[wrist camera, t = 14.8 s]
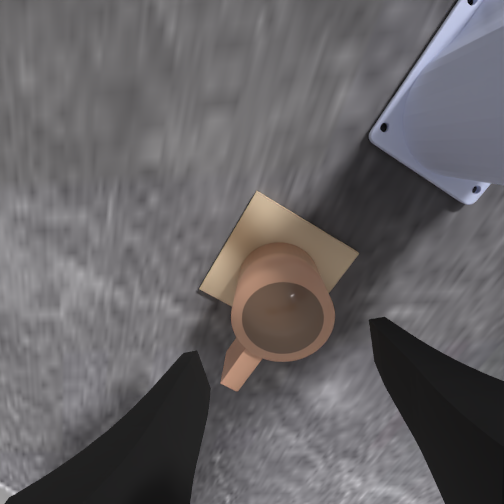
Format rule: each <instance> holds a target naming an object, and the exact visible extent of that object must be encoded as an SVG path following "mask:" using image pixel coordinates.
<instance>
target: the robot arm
mask: <svg viewBox="0 0 504 504" xmlns="http://www.w3.org/2000/svg"><path fill="white" fill-rule="evenodd" d="M382 123H385V124H386V125H387V129H386V131H385V132H382V131H381V130H380V126H381V124H382ZM369 140H370V142H371V143H372V144H374V145H375V146H377V147H378V148H380V149H381V150H383V151H384V152H386V153H387V154H389V155H390V156H392V157H393V158H395V159H396V160H398V161H399V162H401V163H402V164H404V165H405V166H407V167H408V168H410V169H411V170H413V171H414V172H416V173H417V174H419V175H420V176H422V177H423V178H425V179H426V180H428V181H429V182H431V183H432V184H434V185H435V186H437V187H438V188H440V189H441V190H443V191H444V192H446V193H447V194H449V195H450V196H452V197H453V198H455V199H456V200H458V201H459V202H461V203H463V204H466V205H471V204H473V203H474V202H476V201H477V199H478V198H479V197H480V196H481V195H482V194H483V192H484V191H485V190H486V189H487V188H488V187H489V185H490V184H491V183H492V184H498V185H504V0H473V4H472V6H471V5H469V4H468V3H467V0H458V2H457V3H456V5H455V6H454V8H453V9H452V11H451V12H450V14H449V15H448V16H447V18H446V19H445V21H444V22H443V24H442V25H441V27H440V28H439V30H438V31H437V33H436V34H435V36H434V37H433V39H432V40H431V42H430V43H429V45H428V46H427V48H426V49H425V51H424V52H423V54H422V55H421V57H420V58H419V60H418V61H417V63H416V64H415V66H414V67H413V68H412V70H411V71H410V73H409V74H408V76H407V77H406V79H405V80H404V82H403V83H402V85H401V86H400V88H399V89H398V91H397V92H396V94H395V95H394V97H393V98H392V100H391V101H390V103H389V104H388V106H387V107H386V109H385V110H384V112H383V113H382V115H381V116H380V118H379V119H378V120H377V122H376V123H375V125H374V126H373V128H372V129H371V131H370V133H369ZM475 186H476V187H477V190H476V191H475V192H474V193H473V192H472V189H473V187H475ZM369 324H370V332H371V339H372V347H373V354H374V362H375V364H376V366H377V369H378V371H379V374H380V376H381V378H382V381H383V383H384V385H385V387H386V389H387V391H388V392H389V394H390V396H391V398H392V400H393V401H394V403H395V405H396V407H397V408H398V410H399V412H400V414H401V415H402V417H403V419H404V421H405V422H406V424H407V426H408V428H409V429H410V431H411V433H412V435H413V436H414V438H415V440H416V442H417V444H418V446H419V448H420V450H421V452H422V454H423V456H424V458H425V460H426V462H427V465H428V467H429V469H430V471H431V473H432V475H433V478H434V480H435V482H436V484H437V487H438V489H439V491H440V493H441V496H442V498H443V500H444V502H445V504H504V381H502V380H499V379H497V378H494V377H492V376H489V375H487V374H485V373H482V372H480V371H478V370H476V369H474V368H471V367H469V366H467V365H465V364H463V363H461V362H459V361H457V360H455V359H453V358H451V357H449V356H447V355H445V354H443V353H441V352H440V351H438V350H436V349H434V348H433V347H431V346H429V345H427V344H426V343H424V342H422V341H421V340H419V339H418V338H416V337H414V336H413V335H411V334H410V333H408V332H407V331H405V330H404V329H402V328H401V327H399V326H398V325H396V324H395V323H393V322H392V321H390V320H389V319H387V318H386V317H381V318H375V319H370V320H369ZM210 389H211V388H210V385H209V383H208V380H207V377H206V374H205V371H204V368H203V366H202V363H201V360H200V357H199V354H198V352H197V351H192V352H187V353H183V354H182V355H181V356H180V357H179V358H178V359H177V361H176V362H175V363H174V364H173V365H172V366H171V367H170V369H169V370H168V371H167V372H166V373H165V374H164V375H163V376H162V378H161V379H160V380H159V381H158V382H157V383H156V384H155V385H154V387H153V388H152V389H151V390H150V391H149V392H148V393H147V394H146V395H145V396H144V397H143V398H142V399H141V400H140V401H139V402H138V403H137V404H136V405H135V406H134V407H133V408H132V409H131V410H130V411H129V412H128V413H127V414H126V415H125V416H124V417H123V418H122V419H120V420H119V421H118V422H117V423H116V424H115V425H114V426H113V427H111V428H110V429H109V430H108V431H107V432H105V433H104V434H103V435H102V436H100V437H99V438H98V439H96V440H95V441H94V442H93V443H91V444H90V445H89V446H88V447H86V448H85V449H84V450H82V451H81V452H80V453H78V454H77V455H75V456H74V457H73V458H71V459H70V460H68V461H67V462H66V463H64V464H63V465H61V466H60V467H58V468H57V469H55V470H54V471H52V472H51V473H49V474H48V475H46V476H44V477H43V478H41V479H39V480H38V481H36V482H35V483H33V484H31V485H30V486H28V487H26V488H25V489H23V490H21V491H20V492H18V493H16V494H15V495H13V496H11V497H9V498H8V500H7V501H6V503H5V504H190V499H191V491H192V484H193V478H194V473H195V468H196V464H197V459H198V455H199V451H200V446H201V442H202V438H203V433H204V429H205V425H206V420H207V415H208V409H209V400H210Z"/></svg>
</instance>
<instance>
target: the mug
mask: <svg viewBox="0 0 504 504" xmlns="http://www.w3.org/2000/svg"><path fill="white" fill-rule="evenodd" d="M334 322H335V310H334V306H333V302H332V300H331V298H330V296H329V293H328V291H327V289H326V287H325V284H324V282H323V280H322V277H321V275H320V273H319V271H318V268H317V266H316V264H315V262H314V260H313V259H312V258H311V256H310V255H309V254H308V253H307V252H306V251H304V250H303V249H301V248H300V247H298V246H295V245H293V244H289V243H283V242H275V243H269V244H265V245H263V246H260V247H258V248H257V249H255V250H254V251H252V252H251V253H250V254H249V255H248V256H247V257H246V259H245V260H244V262H243V263H242V265H241V268H240V271H239V276H238V281H237V286H236V291H235V296H234V301H233V306H232V311H231V323H232V328H233V331H234V333H235V335H236V339H235V340H234V341H233V343H232V344H231V346H230V347H229V349H228V350H227V351H226V356H225V361H224V367H223V372H222V377H221V384H223V385H225V386H227V387H229V388H231V389H233V390H235V391H237V392H238V390H239V389H240V388H241V386H242V385H243V384H244V382H245V381H246V380H247V378H248V377H249V376H250V374H251V373H252V372H253V370H254V369H255V368H256V366H257V365H258V364H259V362H260V361H261V360H262V358H263V359H266V360H270V361H277V362H288V361H295V360H299V359H302V358H305V357H307V356H309V355H311V354H313V353H314V352H316V351H317V350H318V349H319V348H321V347H322V346H323V344H324V343H325V342H326V341H327V339H328V338H329V336H330V334H331V333H332V330H333V327H334Z"/></svg>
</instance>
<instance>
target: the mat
mask: <svg viewBox="0 0 504 504" xmlns="http://www.w3.org/2000/svg"><path fill="white" fill-rule="evenodd" d="M275 242H283V243H289V244H293V245H295V246H298V247H300V248H301V249H303V250H304V251H306V252H307V253H308V254H309V255H310V256H311V258H312V259H313V260H314V262H315V264H316V266H317V268H318V271H319V273H320V275H321V277H322V280H323V282H324V284H325V287H326V289H327V291H328V293H330V291H331V290H332V289H333V287H334V286H335V285H336V283H337V282H338V281H339V279H340V278H341V277H342V276H343V274H344V273H345V272H346V270H347V269H348V268H349V266H350V265H351V264H352V262H353V261H354V260H355V258H356V257H357V256H358V255H359V253H358V252H357V251H356V250H354V249H353V248H351V247H349V246H348V245H346V244H344V243H343V242H341V241H339V240H338V239H336V238H334V237H333V236H331V235H329V234H328V233H326V232H324V231H323V230H321V229H319V228H318V227H316V226H314V225H313V224H311V223H309V222H308V221H306V220H305V219H303V218H301V217H300V216H298V215H296V214H295V213H293V212H291V211H290V210H288V209H286V208H285V207H283V206H281V205H280V204H278V203H276V202H275V201H273V200H271V199H270V198H268V197H266V196H265V195H263V194H261V193H260V192H258V191H256V193H255V194H254V196H253V198H252V199H251V201H250V203H249V205H248V206H247V208H246V210H245V211H244V213H243V215H242V216H241V218H240V220H239V222H238V223H237V225H236V227H235V228H234V230H233V232H232V233H231V235H230V237H229V239H228V240H227V242H226V244H225V245H224V247H223V249H222V250H221V252H220V254H219V256H218V257H217V259H216V261H215V262H214V264H213V266H212V267H211V269H210V271H209V273H208V274H207V276H206V278H205V279H204V281H203V283H202V284H201V286H200V288H199V289H200V290H202V291H204V292H205V293H207V294H209V295H211V296H213V297H215V298H217V299H219V300H220V301H222V302H224V303H226V304H228V305H230V306H233V301H234V296H235V291H236V286H237V281H238V276H239V271H240V268H241V265H242V263H243V262H244V260H245V259H246V257H247V256H248V255H249V254H250V253H251V252H252V251H254V250H255V249H257V248H258V247H260V246H263V245H265V244H269V243H275Z"/></svg>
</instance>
